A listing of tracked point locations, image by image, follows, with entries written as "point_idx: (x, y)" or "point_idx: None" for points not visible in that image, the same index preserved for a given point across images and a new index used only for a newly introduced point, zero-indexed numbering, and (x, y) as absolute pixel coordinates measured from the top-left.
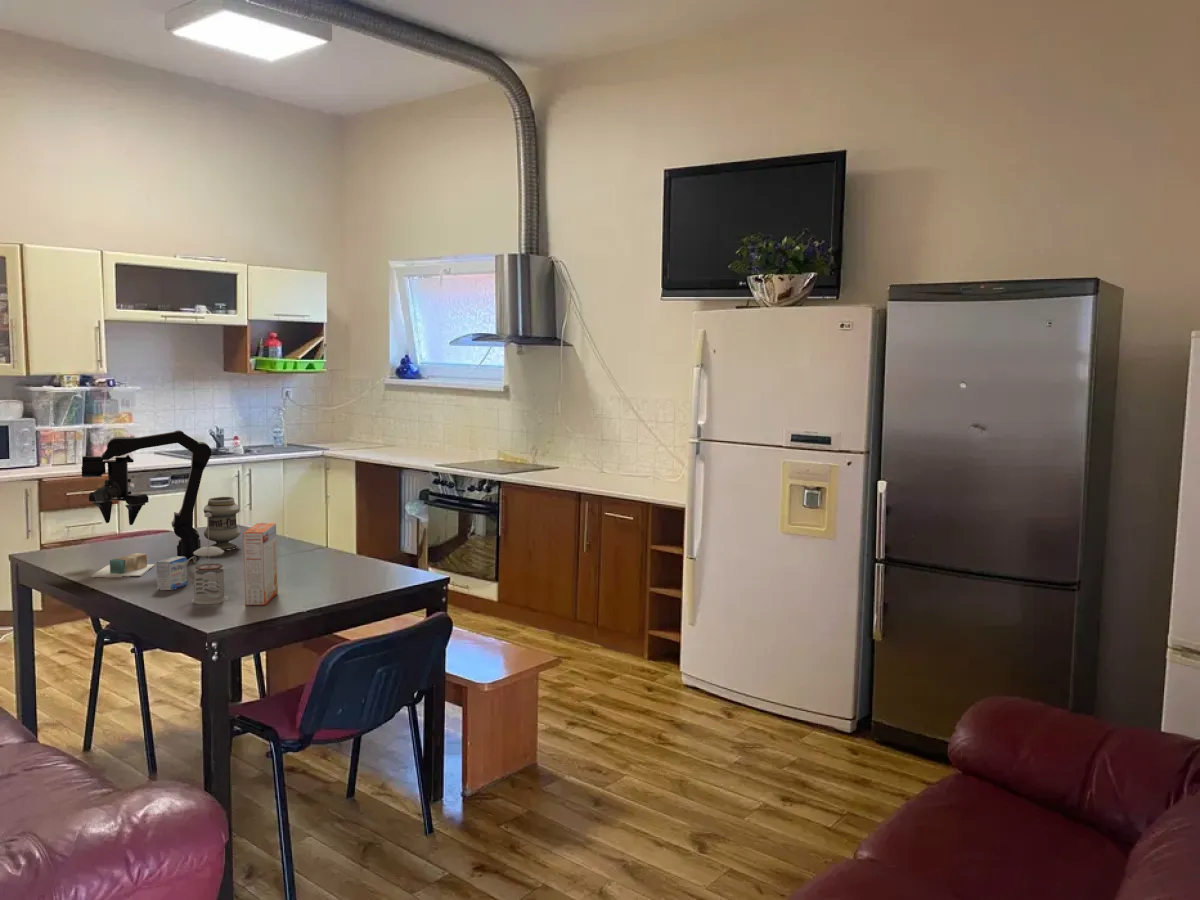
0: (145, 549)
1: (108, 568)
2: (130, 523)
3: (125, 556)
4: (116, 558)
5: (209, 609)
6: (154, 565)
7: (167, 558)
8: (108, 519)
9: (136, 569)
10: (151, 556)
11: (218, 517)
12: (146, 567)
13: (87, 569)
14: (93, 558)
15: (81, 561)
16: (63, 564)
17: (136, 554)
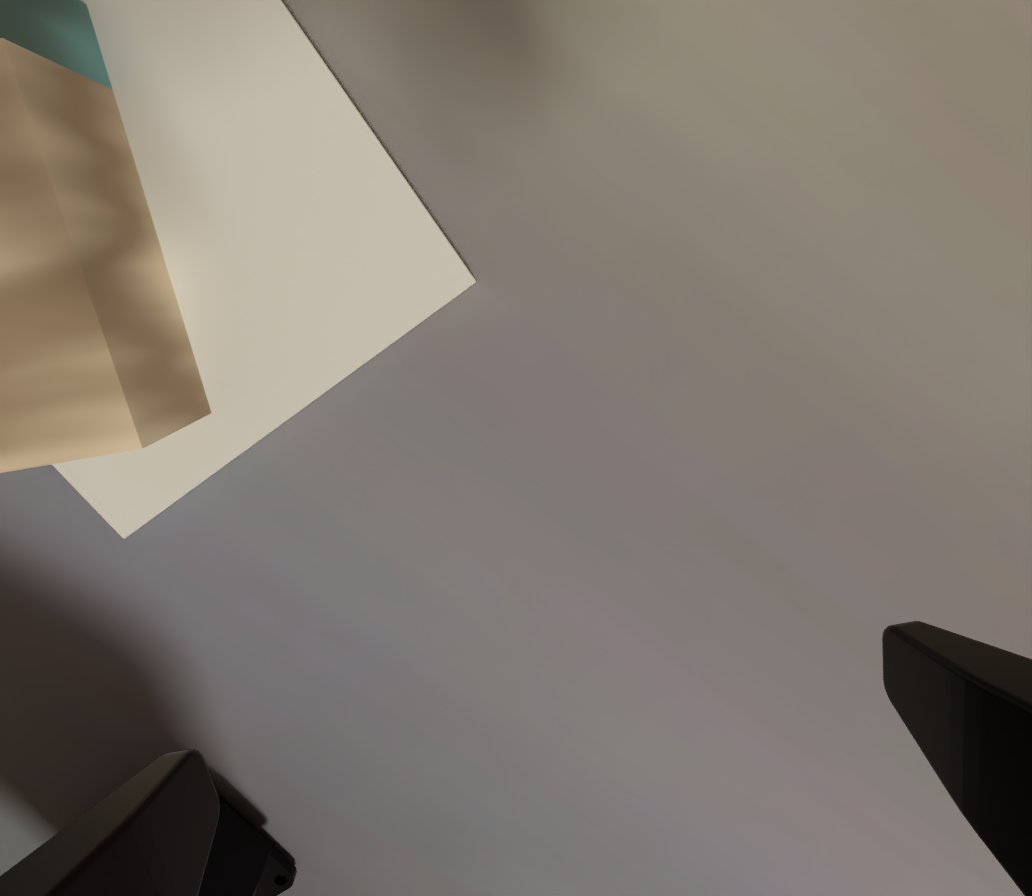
0: (788, 878)
1: (313, 156)
2: (136, 778)
3: (46, 235)
4: (9, 71)
5: None
6: (120, 525)
7: None
8: (939, 730)
9: None
10: (520, 752)
11: None
12: None
13: (551, 69)
14: (915, 450)
15: (919, 301)
16: (981, 101)
17: (63, 398)
